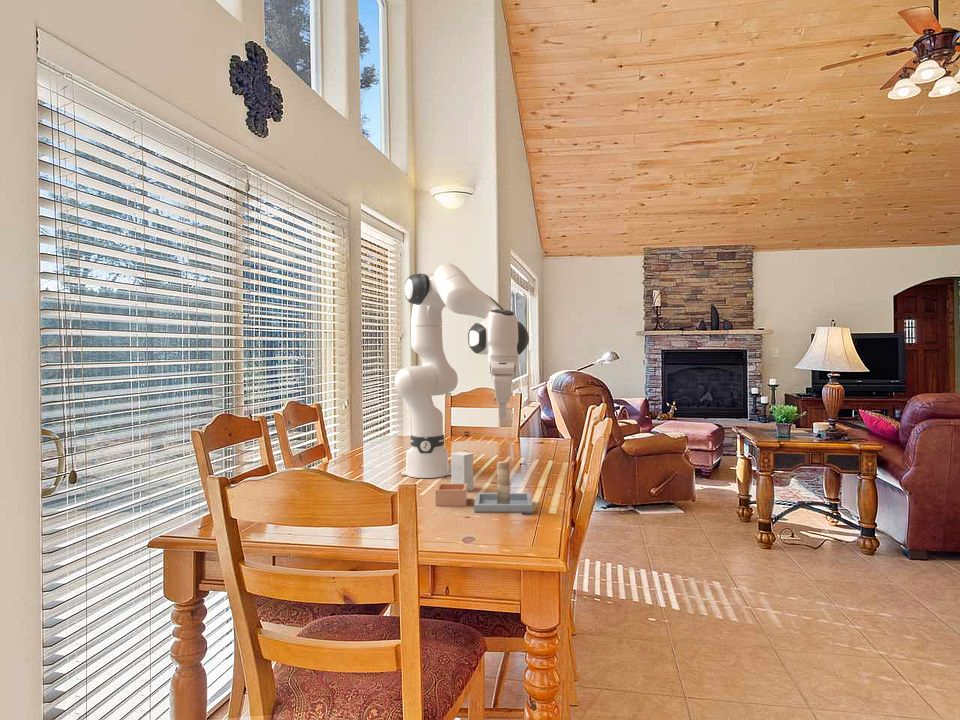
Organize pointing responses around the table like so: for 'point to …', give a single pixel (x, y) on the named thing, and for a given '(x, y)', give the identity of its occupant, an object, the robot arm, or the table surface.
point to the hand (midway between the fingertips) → (502, 415)
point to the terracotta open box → (451, 495)
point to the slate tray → (489, 504)
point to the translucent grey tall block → (503, 483)
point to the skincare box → (462, 469)
